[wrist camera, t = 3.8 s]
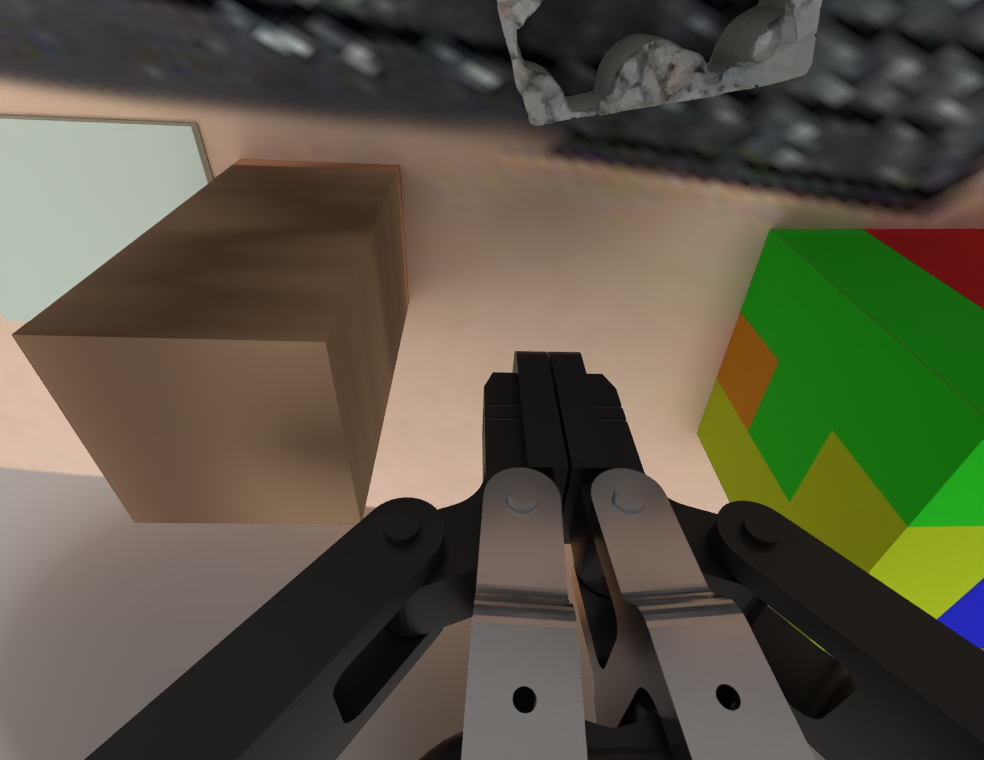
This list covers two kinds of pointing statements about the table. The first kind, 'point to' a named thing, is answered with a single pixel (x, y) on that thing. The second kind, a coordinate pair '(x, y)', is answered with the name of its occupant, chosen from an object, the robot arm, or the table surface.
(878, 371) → the puzzle toy
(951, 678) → the robot arm
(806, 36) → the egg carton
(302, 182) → the walnut block
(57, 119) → the sage pad
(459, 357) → the table surface
